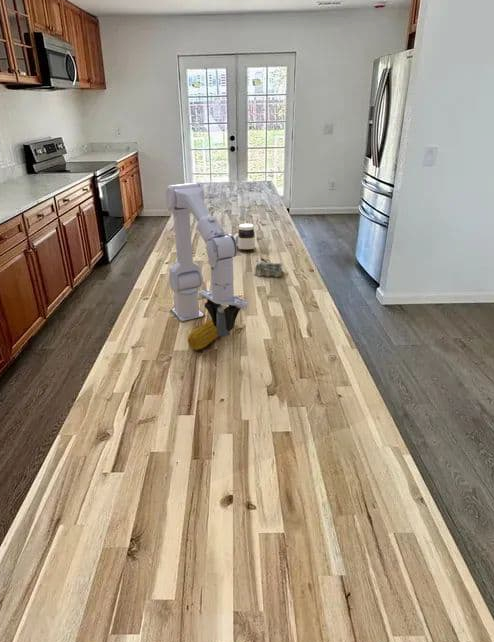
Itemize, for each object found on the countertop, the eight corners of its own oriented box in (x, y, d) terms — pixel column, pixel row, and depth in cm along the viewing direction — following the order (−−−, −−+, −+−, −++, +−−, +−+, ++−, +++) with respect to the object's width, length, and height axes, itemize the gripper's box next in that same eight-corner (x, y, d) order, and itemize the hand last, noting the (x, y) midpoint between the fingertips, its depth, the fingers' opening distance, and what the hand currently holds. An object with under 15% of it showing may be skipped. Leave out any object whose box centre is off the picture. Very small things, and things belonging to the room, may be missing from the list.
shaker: (222, 328, 123) (221, 303, 119) (233, 331, 121) (233, 306, 117) (213, 334, 120) (212, 309, 116) (225, 338, 118) (225, 312, 114)
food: (201, 355, 123) (200, 337, 120) (185, 350, 125) (184, 332, 123) (238, 323, 139) (238, 307, 136) (223, 319, 142) (222, 303, 139)
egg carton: (254, 276, 174) (254, 266, 173) (257, 269, 181) (257, 260, 179) (280, 277, 172) (280, 268, 171) (282, 270, 179) (282, 261, 177)
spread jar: (255, 253, 199) (255, 228, 194) (230, 253, 199) (229, 228, 194) (254, 244, 210) (254, 221, 205) (230, 245, 210) (230, 221, 205)
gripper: (254, 281, 113) (254, 327, 119) (208, 271, 120) (210, 314, 126) (239, 291, 107) (240, 338, 113) (193, 279, 115) (196, 324, 121)
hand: (223, 327), depth 119 cm, fingers closed on shaker, 4 cm apart
